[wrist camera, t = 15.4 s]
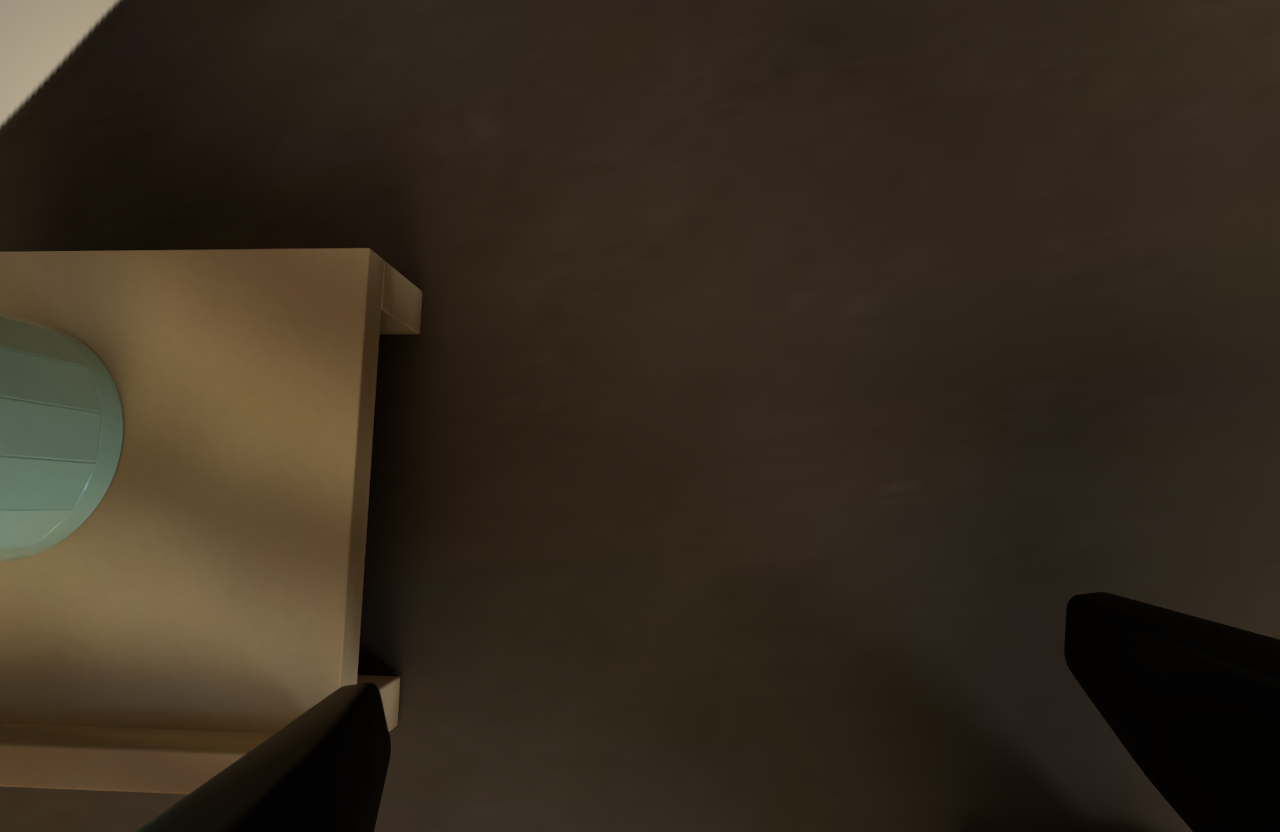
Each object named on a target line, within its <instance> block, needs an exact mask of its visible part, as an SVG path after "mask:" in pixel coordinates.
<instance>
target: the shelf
mask: <svg viewBox="0 0 1280 832" xmlns="http://www.w3.org/2000/svg"><path fill="white" fill-rule="evenodd" d="M421 308H422V291H421V290H420V289H419V288H417V287H416V286H415V285H414V284H412V283H411V282H410V281H409V280H408V279H406V278H405V277H404V276H403V275H402V274H400V273H399V272H398V271H397V270H396V269H394V268H393V267H392V266H391V265H389V264H388V263H387V262H386V261H384V260H383V259H382V258H381V257H380V256H379V255H377V254H376V253H375V252H374V251H373V250H371V249H370V248H309V249H217V250H125V251H33V252H0V310H1V311H4V312H8V313H11V314H15V315H18V316H21V317H23V318H26V319H28V320H30V321H32V322H36V323H39V324H43V325H47V326H50V327H53V328H56V329H59V330H61V331H64V332H66V333H68V334H70V335H72V336H74V337H76V338H77V339H79V340H80V341H81V342H83V343H84V344H85V345H87V346H88V347H89V348H90V349H91V350H92V351H93V352H94V353H95V354H96V355H97V356H98V357H99V358H100V360H101V361H102V362H103V364H104V365H105V366H106V368H107V369H108V371H109V373H110V375H111V377H112V378H113V380H114V382H115V385H116V388H117V391H118V393H119V397H120V401H121V406H122V412H123V423H124V428H123V443H122V449H121V455H120V459H119V462H118V466H117V469H116V472H115V475H114V477H113V479H112V482H111V484H110V486H109V488H108V490H107V492H106V493H105V495H104V497H103V499H102V500H101V502H100V503H99V505H98V506H97V507H96V509H95V510H94V511H93V513H92V514H91V515H90V516H89V517H88V518H87V519H86V521H85V522H84V523H83V524H82V525H81V526H80V527H79V528H78V529H76V530H75V531H74V532H73V533H72V534H70V535H69V536H68V537H67V538H65V539H64V540H62V541H61V542H59V543H57V544H56V545H54V546H53V547H51V548H49V549H47V550H45V551H43V552H41V553H39V554H36V555H33V556H30V557H27V558H24V559H20V560H15V561H10V562H2V563H0V786H7V787H31V788H54V789H78V790H102V791H126V792H150V793H173V794H190V793H191V792H193V791H194V790H196V789H197V788H199V787H200V786H201V785H203V784H204V783H206V782H207V781H208V780H210V779H211V778H213V777H214V776H216V775H217V774H218V773H220V772H221V771H223V770H224V769H225V768H227V767H228V766H230V765H231V764H232V763H234V762H235V761H237V760H238V759H240V758H241V757H242V756H244V755H245V754H247V753H248V752H249V751H251V750H252V749H254V748H255V747H257V746H258V745H259V744H261V743H262V742H264V741H265V740H266V739H268V738H269V737H271V736H272V735H274V734H275V733H276V732H278V731H279V730H281V729H282V728H283V727H285V726H286V725H288V724H289V723H291V722H292V721H293V720H295V719H296V718H298V717H299V716H300V715H302V714H303V713H305V712H306V711H308V710H309V709H310V708H312V707H313V706H315V705H316V704H317V703H319V702H320V701H322V700H323V699H325V698H326V697H327V696H329V695H330V694H332V693H333V692H334V691H336V690H337V689H339V688H340V687H343V686H346V685H355V684H363V683H373V684H375V685H376V686H377V687H378V689H379V691H380V694H381V698H382V703H383V708H384V712H385V717H386V721H387V726H388V731H390V730H392V729H393V728H394V727H396V726H397V724H398V709H399V691H400V677H398V676H373V675H358V659H359V644H360V628H361V613H362V597H363V582H364V566H365V550H366V535H367V519H368V504H369V488H370V473H371V457H372V442H373V426H374V411H375V395H376V380H377V364H378V349H379V334H420V326H421Z"/></svg>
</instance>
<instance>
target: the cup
mask: <svg viewBox="0 0 1280 832" xmlns="http://www.w3.org/2000/svg"><path fill="white" fill-rule="evenodd" d="M123 428H124V423H123V412H122V406H121V401H120V397H119V393H118V391H117V388H116V385H115V382H114V380H113V378H112V377H111V375H110V373H109V371H108V369H107V368H106V366H105V365H104V364H103V362H102V361H101V360H100V358H99V357H98V356H97V355H96V354H95V353H94V352H93V351H92V350H91V349H90V348H89V347H88V346H87V345H85V344H84V343H83V342H81V341H80V340H79V339H77V338H76V337H74V336H72V335H70V334H68V333H66V332H64V331H61V330H59V329H56V328H53V327H50V326H47V325H43V324H39V323H36V322H32V321H30V320H28V319H26V318H23V317H21V316H18V315H15V314H11V313H8V312H4V311H1V310H0V563H2V562H10V561H15V560H20V559H24V558H27V557H30V556H33V555H36V554H39V553H41V552H43V551H45V550H47V549H49V548H51V547H53V546H54V545H56V544H57V543H59V542H61V541H62V540H64V539H65V538H67V537H68V536H69V535H70V534H72V533H73V532H74V531H75V530H76V529H78V528H79V527H80V526H81V525H82V524H83V523H84V522H85V521H86V519H87V518H88V517H89V516H90V515H91V514H92V513H93V511H94V510H95V509H96V507H97V506H98V505H99V503H100V502H101V500H102V499H103V497H104V495H105V493H106V492H107V490H108V488H109V486H110V484H111V482H112V479H113V477H114V475H115V472H116V469H117V466H118V462H119V459H120V455H121V449H122V443H123Z"/></svg>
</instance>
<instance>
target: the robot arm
mask: <svg viewBox="0 0 1280 832" xmlns="http://www.w3.org/2000/svg"><path fill="white" fill-rule="evenodd" d="M1064 653H1065V659H1066V662H1067V665H1068V667H1069V669H1070V671H1071V673H1072V674H1073V676H1074V677H1075V678H1076V680H1077V681H1078V683H1079V684H1080V685H1081V687H1082V688H1083V690H1084V691H1085V692H1086V694H1087V695H1088V697H1089V698H1090V699H1091V701H1092V702H1093V703H1094V705H1095V706H1096V708H1097V709H1098V710H1099V712H1100V713H1101V715H1102V716H1103V717H1104V719H1105V720H1106V722H1107V723H1108V724H1109V726H1110V727H1111V729H1112V730H1113V731H1114V733H1115V734H1116V736H1117V737H1118V738H1119V740H1120V741H1121V743H1122V744H1123V745H1124V747H1125V748H1126V750H1127V751H1128V752H1129V754H1130V755H1131V756H1132V758H1133V759H1134V761H1135V762H1136V763H1137V764H1138V766H1139V767H1140V768H1141V770H1142V771H1143V772H1144V774H1145V775H1146V776H1147V778H1148V779H1149V780H1150V781H1151V782H1152V784H1153V785H1154V786H1155V787H1156V789H1157V790H1158V791H1159V792H1160V793H1161V795H1162V796H1163V797H1164V798H1165V799H1166V801H1167V802H1168V803H1169V804H1170V805H1171V806H1172V808H1173V809H1174V810H1175V811H1176V812H1177V813H1178V814H1179V816H1180V817H1181V818H1182V819H1183V820H1184V821H1185V823H1186V824H1187V825H1188V826H1189V827H1190V828H1191V830H1192V831H1193V832H1280V640H1279V639H1275V638H1271V637H1268V636H1264V635H1261V634H1257V633H1253V632H1250V631H1246V630H1242V629H1239V628H1235V627H1231V626H1228V625H1224V624H1220V623H1217V622H1213V621H1209V620H1206V619H1202V618H1198V617H1195V616H1191V615H1187V614H1184V613H1180V612H1176V611H1173V610H1169V609H1165V608H1162V607H1158V606H1154V605H1151V604H1147V603H1143V602H1140V601H1136V600H1132V599H1129V598H1125V597H1121V596H1118V595H1114V594H1110V593H1106V592H1096V593H1088V594H1080V595H1075V596H1073V597H1072V598H1071V599H1070V600H1069V602H1068V604H1067V610H1066V628H1065V645H1064ZM390 752H391V743H390V735H389V731H388V726H387V721H386V717H385V712H384V708H383V703H382V698H381V694H380V691H379V689H378V687H377V686H376V685H375V684H373V683H363V684H355V685H346V686H343V687H340V688H339V689H337V690H336V691H334V692H333V693H332V694H330V695H329V696H327V697H326V698H325V699H323V700H322V701H320V702H319V703H317V704H316V705H315V706H313V707H312V708H310V709H309V710H308V711H306V712H305V713H303V714H302V715H300V716H299V717H298V718H296V719H295V720H293V721H292V722H291V723H289V724H288V725H286V726H285V727H283V728H282V729H281V730H279V731H278V732H276V733H275V734H274V735H272V736H271V737H269V738H268V739H266V740H265V741H264V742H262V743H261V744H259V745H258V746H257V747H255V748H254V749H252V750H251V751H249V752H248V753H247V754H245V755H244V756H242V757H241V758H240V759H238V760H237V761H235V762H234V763H232V764H231V765H230V766H228V767H227V768H225V769H224V770H223V771H221V772H220V773H218V774H217V775H216V776H214V777H213V778H211V779H210V780H208V781H207V782H206V783H204V784H203V785H201V786H200V787H199V788H197V789H196V790H194V791H193V792H191V793H190V794H189V795H187V796H186V797H184V798H183V799H182V800H180V801H179V802H177V803H176V804H174V805H173V806H172V807H170V808H169V809H167V810H166V811H165V812H163V813H162V814H160V815H159V816H157V817H156V818H155V819H153V820H152V821H150V822H149V823H148V824H146V825H145V826H143V827H142V828H140V829H139V830H138V831H136V832H374V829H375V824H376V820H377V815H378V810H379V806H380V801H381V797H382V792H383V787H384V783H385V778H386V774H387V769H388V765H389V760H390Z"/></svg>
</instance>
